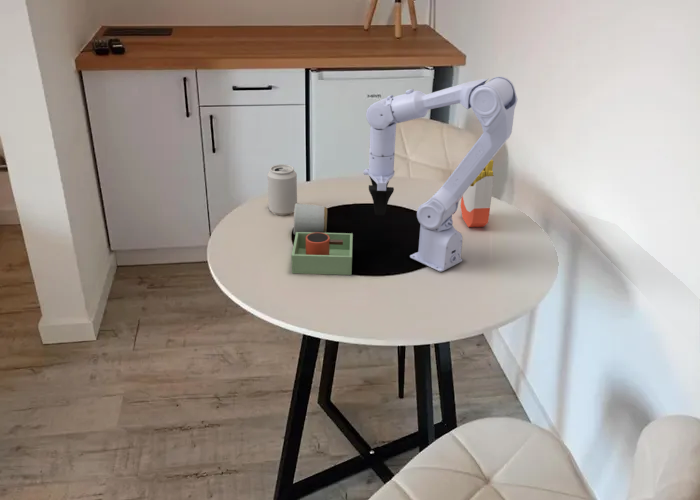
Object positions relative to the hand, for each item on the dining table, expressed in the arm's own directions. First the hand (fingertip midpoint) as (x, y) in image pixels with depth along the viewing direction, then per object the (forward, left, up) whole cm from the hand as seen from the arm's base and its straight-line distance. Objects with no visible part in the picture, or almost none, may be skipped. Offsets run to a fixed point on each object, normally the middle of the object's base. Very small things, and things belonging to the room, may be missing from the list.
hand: (379, 207), depth 160 cm
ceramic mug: (+16, +8, -10) cm, 20 cm away
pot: (+2, +16, -9) cm, 18 cm away
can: (+30, +5, -10) cm, 32 cm away
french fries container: (-8, -27, -10) cm, 30 cm away
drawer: (+2, +16, -9) cm, 19 cm away
